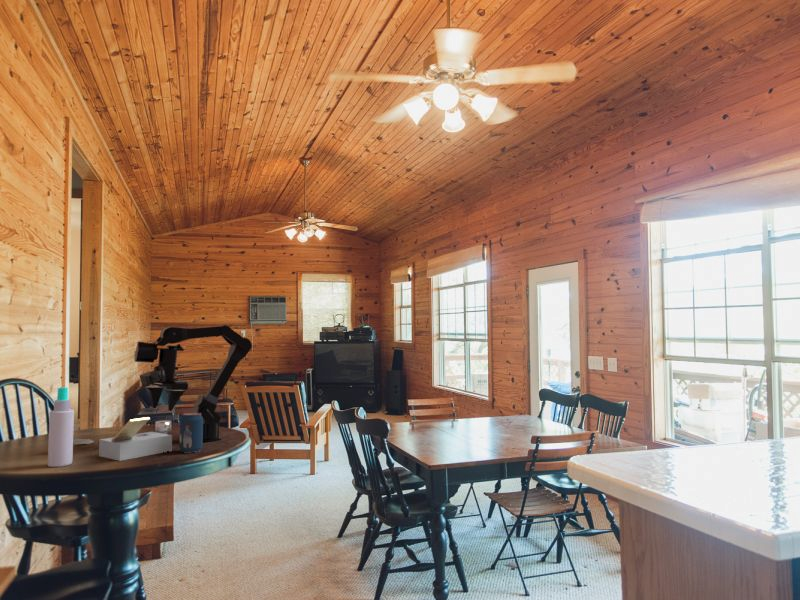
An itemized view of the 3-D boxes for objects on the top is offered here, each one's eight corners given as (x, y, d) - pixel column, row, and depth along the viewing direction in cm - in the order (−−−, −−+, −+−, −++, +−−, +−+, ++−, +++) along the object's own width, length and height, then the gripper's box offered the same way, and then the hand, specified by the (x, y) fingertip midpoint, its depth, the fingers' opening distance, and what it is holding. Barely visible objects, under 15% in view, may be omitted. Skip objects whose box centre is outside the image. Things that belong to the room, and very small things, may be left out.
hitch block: (150, 446, 184) (150, 428, 185) (171, 450, 177) (172, 432, 178) (98, 455, 170) (99, 436, 171) (119, 460, 163) (120, 440, 164)
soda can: (199, 448, 182) (200, 411, 182) (204, 451, 176) (205, 413, 177) (177, 450, 178) (178, 413, 179) (181, 454, 172) (182, 415, 173)
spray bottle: (76, 462, 161) (79, 386, 163) (63, 467, 155) (66, 388, 157) (56, 462, 161) (59, 387, 163) (42, 467, 155) (45, 388, 157)
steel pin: (165, 442, 191) (165, 420, 192) (173, 444, 189) (174, 421, 189) (151, 445, 187) (152, 421, 188) (160, 446, 184) (160, 423, 185)
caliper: (51, 455, 173) (51, 435, 173) (47, 455, 173) (48, 435, 173) (94, 443, 193) (94, 424, 193) (91, 442, 193) (92, 424, 193)
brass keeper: (132, 437, 171) (132, 435, 171) (150, 418, 166) (149, 417, 166) (113, 440, 166) (113, 438, 166) (130, 421, 161) (130, 419, 161)
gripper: (129, 361, 188) (124, 407, 187) (161, 364, 178) (156, 413, 176) (159, 362, 198) (154, 406, 196) (191, 365, 187) (186, 411, 185)
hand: (162, 409), depth 188 cm, fingers open, 9 cm apart
